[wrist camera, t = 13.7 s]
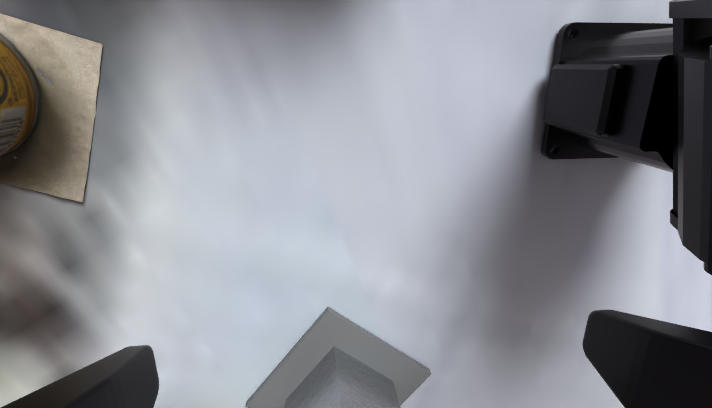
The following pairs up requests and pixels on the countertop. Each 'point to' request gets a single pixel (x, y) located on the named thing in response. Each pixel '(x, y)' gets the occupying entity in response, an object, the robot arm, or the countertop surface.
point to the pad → (352, 340)
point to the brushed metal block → (343, 385)
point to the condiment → (46, 107)
